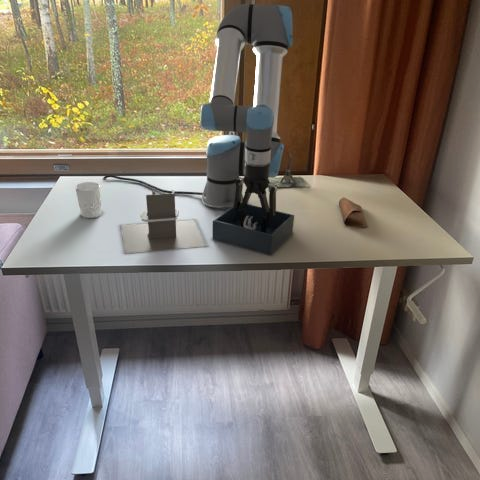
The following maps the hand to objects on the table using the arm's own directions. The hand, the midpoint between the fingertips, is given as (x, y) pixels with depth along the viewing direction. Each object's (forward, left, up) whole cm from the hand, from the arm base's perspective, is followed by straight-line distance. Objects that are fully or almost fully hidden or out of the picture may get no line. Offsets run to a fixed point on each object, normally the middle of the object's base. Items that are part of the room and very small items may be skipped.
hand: (253, 232), depth 164 cm
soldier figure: (-1, 0, 0) cm, 1 cm away
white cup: (-55, -14, -1) cm, 57 cm away
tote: (0, 0, -1) cm, 1 cm away
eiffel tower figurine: (-9, +51, -1) cm, 52 cm away
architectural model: (-25, -15, -1) cm, 30 cm away
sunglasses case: (+24, +33, -1) cm, 40 cm away
